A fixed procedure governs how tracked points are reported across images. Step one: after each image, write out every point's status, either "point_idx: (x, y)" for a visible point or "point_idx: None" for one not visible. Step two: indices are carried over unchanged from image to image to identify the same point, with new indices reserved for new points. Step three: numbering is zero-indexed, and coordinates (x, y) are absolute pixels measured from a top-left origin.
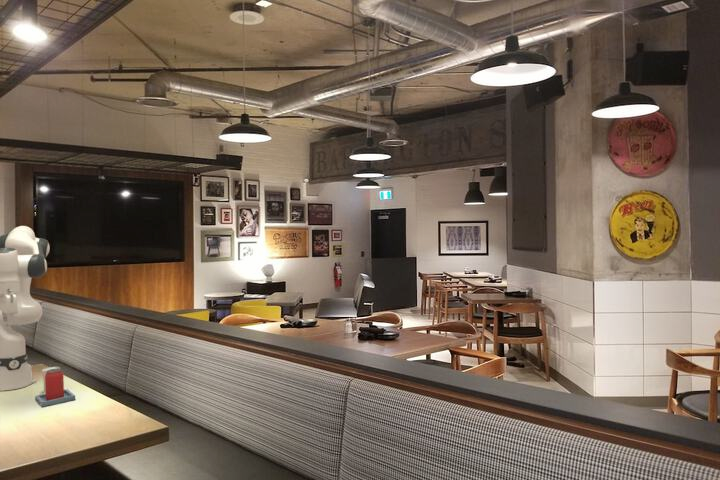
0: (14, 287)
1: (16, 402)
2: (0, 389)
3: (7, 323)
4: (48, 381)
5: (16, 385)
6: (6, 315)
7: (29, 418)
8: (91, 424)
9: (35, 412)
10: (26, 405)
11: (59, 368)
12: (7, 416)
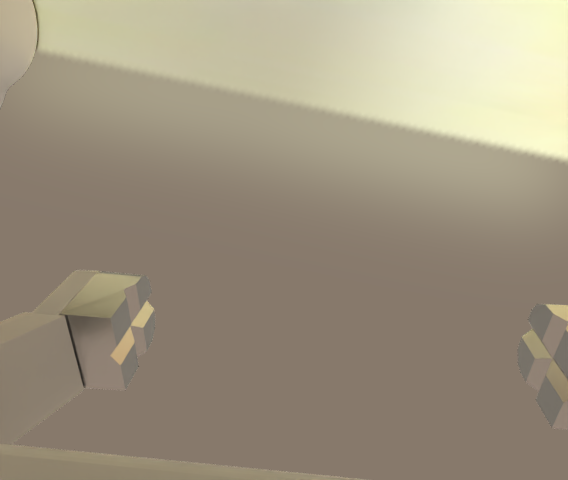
0: None
1: (262, 57)
2: (21, 72)
3: (532, 377)
4: None
5: (19, 4)
6: (30, 364)
7: (548, 69)
8: None
9: (489, 28)
10: (345, 33)
11: None
12: (435, 128)
